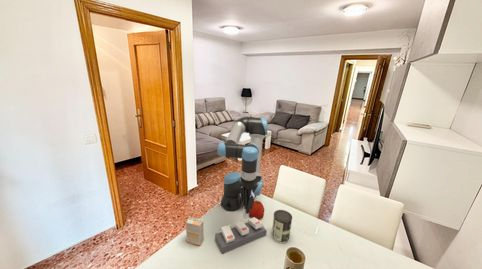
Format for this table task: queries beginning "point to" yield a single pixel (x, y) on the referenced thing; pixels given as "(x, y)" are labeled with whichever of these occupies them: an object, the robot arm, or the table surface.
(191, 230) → the supplement box
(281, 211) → the coffee can
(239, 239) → the rocker switch panel
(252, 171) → the robot arm
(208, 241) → the table surface
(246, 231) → the rocker
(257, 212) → the apple
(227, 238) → the rocker
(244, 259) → the table surface
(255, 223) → the block
